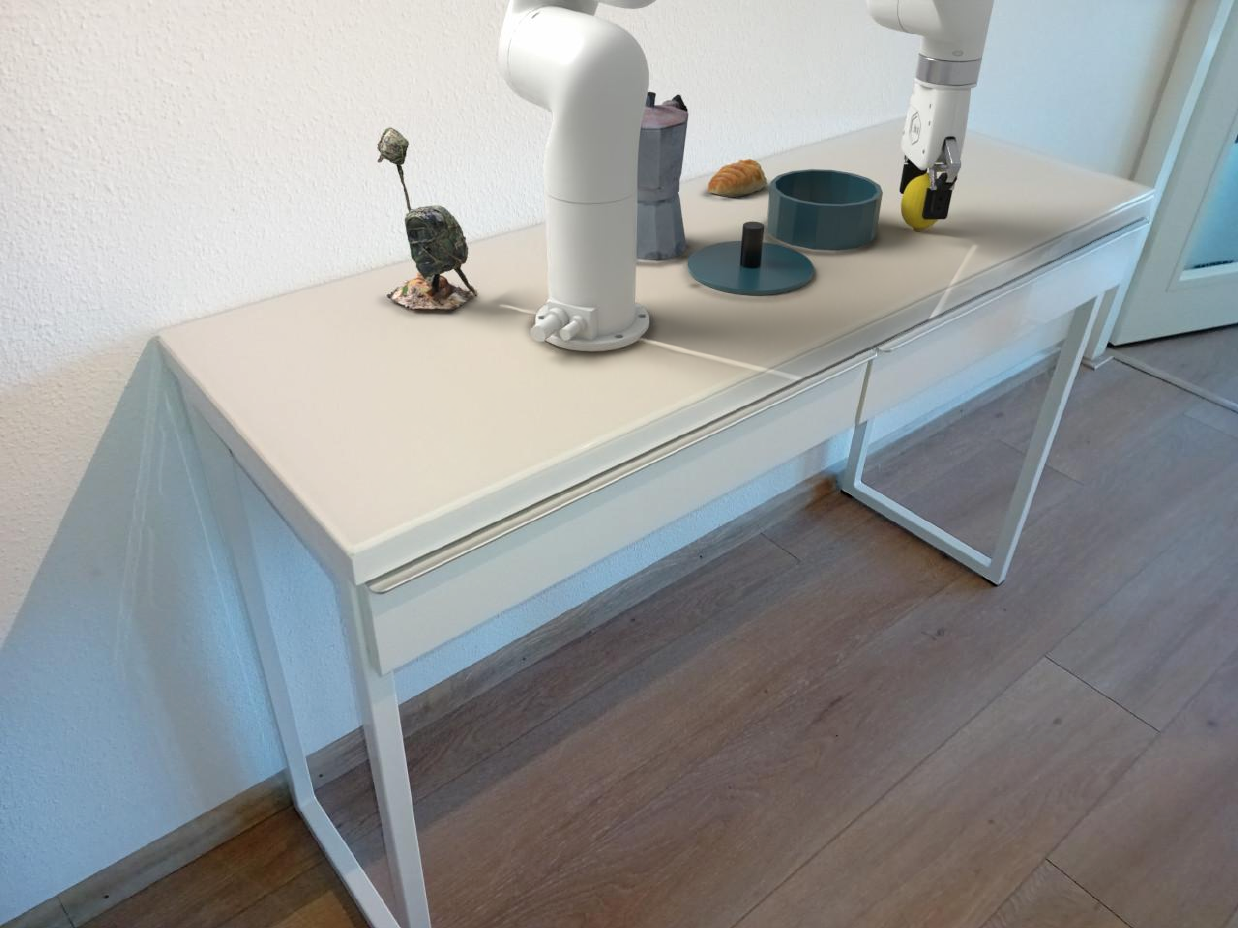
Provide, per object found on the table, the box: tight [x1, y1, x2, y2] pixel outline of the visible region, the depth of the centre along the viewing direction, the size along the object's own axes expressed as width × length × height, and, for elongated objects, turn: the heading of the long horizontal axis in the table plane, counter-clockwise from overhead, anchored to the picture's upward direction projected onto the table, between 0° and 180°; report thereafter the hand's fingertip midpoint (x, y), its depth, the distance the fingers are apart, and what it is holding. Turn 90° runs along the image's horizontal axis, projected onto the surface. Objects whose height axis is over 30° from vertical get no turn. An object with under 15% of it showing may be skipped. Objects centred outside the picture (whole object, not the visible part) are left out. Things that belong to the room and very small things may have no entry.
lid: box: [686, 221, 815, 296], centre depth 119 cm, size 15×15×6 cm
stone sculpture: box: [376, 126, 479, 311], centre depth 108 cm, size 8×11×20 cm
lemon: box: [900, 172, 939, 232], centre depth 130 cm, size 6×6×8 cm
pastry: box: [707, 158, 768, 199], centre depth 145 cm, size 9×7×4 cm
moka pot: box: [636, 91, 689, 262], centre depth 121 cm, size 10×15×20 cm, turn 152°
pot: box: [765, 168, 884, 251], centre depth 130 cm, size 14×14×6 cm
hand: (921, 205), depth 131 cm, fingers open, 9 cm apart
